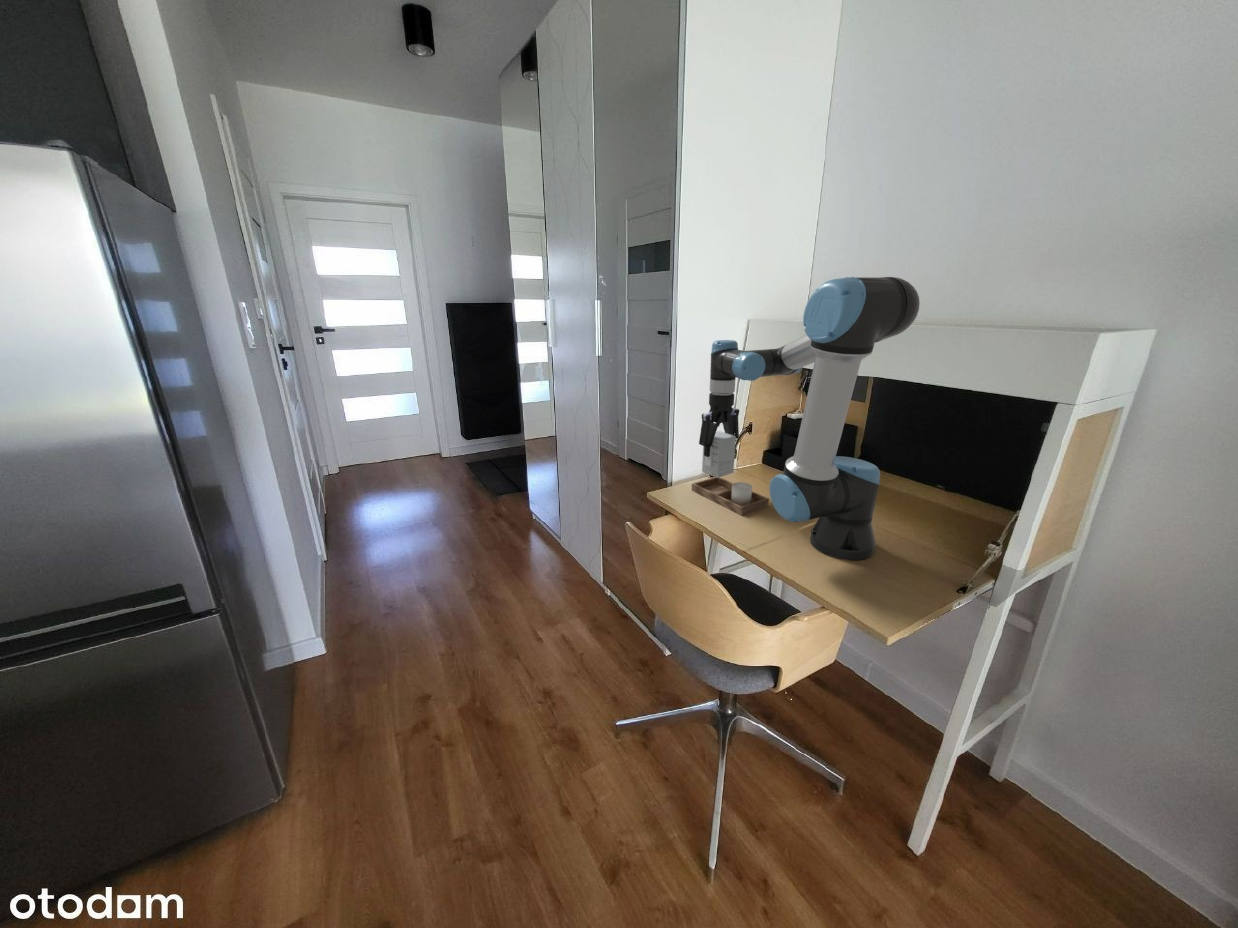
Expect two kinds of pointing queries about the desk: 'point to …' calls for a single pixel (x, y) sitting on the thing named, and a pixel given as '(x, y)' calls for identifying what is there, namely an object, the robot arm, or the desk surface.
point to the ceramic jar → (741, 493)
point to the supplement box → (721, 455)
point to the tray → (727, 495)
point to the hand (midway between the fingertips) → (717, 462)
